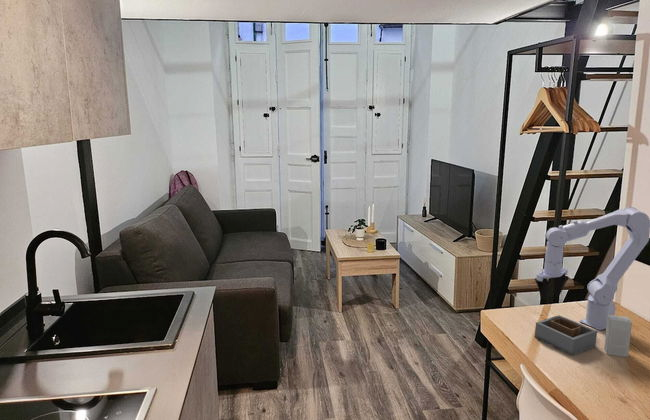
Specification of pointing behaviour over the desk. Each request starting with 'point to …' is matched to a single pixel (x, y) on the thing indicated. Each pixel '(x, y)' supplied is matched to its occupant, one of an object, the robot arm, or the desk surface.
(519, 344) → the desk surface
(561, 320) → the small crate
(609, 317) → the skincare box
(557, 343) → the big crate
